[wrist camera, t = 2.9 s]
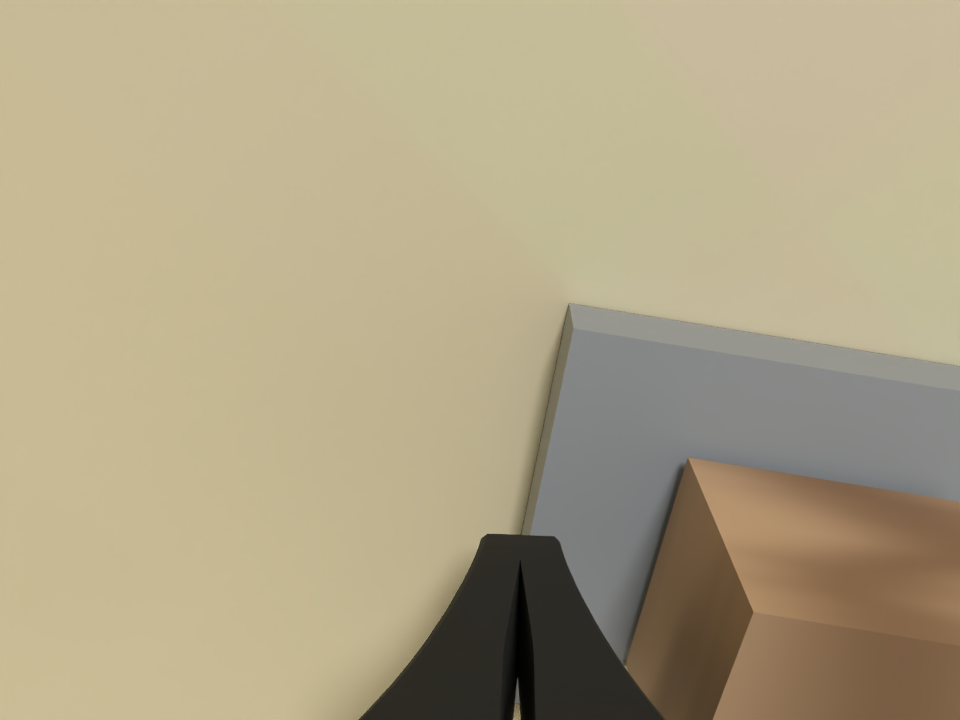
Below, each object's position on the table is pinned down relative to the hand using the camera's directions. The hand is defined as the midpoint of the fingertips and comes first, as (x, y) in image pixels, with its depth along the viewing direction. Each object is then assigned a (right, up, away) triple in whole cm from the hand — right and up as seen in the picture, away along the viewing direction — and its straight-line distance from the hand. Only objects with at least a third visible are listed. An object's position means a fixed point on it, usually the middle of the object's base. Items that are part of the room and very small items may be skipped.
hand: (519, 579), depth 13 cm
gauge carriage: (+5, -1, +1) cm, 5 cm away
